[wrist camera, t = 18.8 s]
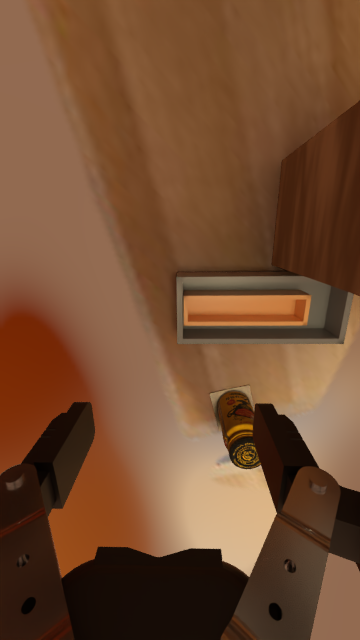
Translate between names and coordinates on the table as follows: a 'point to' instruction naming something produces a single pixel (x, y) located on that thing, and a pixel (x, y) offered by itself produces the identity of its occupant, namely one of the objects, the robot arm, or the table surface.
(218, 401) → the condiment
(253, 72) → the table surface
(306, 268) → the walnut stand
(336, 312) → the charcoal crate
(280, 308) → the narrow crate
